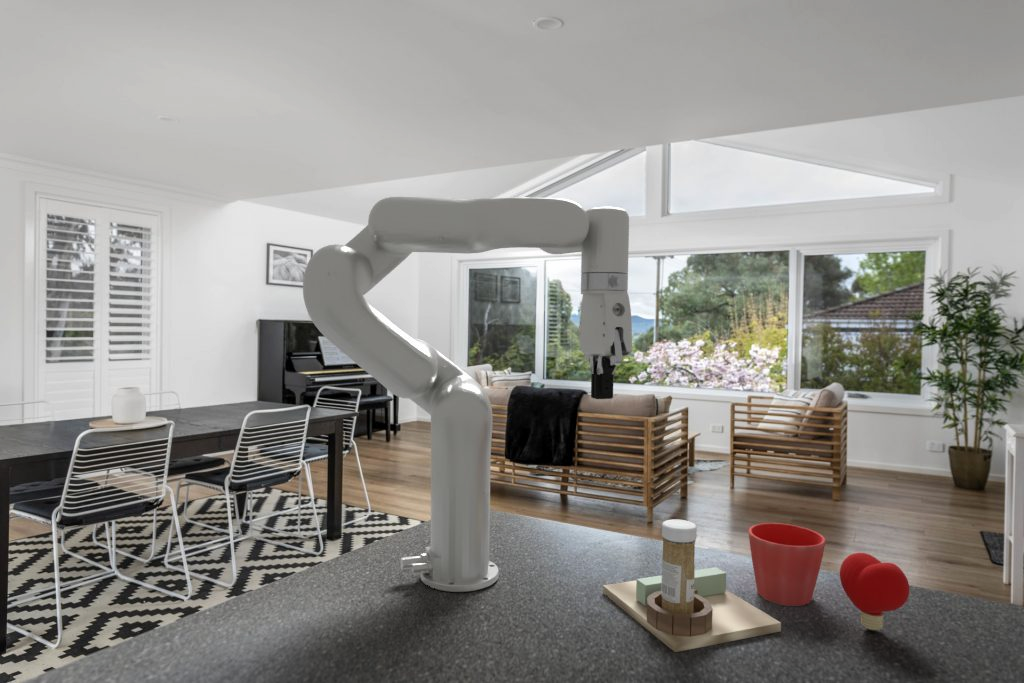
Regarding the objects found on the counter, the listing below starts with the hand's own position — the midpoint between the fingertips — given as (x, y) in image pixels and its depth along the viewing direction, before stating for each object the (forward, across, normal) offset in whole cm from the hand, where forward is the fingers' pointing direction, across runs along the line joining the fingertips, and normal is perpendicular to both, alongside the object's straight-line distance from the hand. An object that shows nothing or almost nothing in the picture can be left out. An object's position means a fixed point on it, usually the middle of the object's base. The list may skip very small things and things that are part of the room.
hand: (601, 398), depth 109 cm
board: (+29, -16, -6) cm, 34 cm away
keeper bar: (+28, -14, -6) cm, 32 cm away
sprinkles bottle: (+28, -21, -1) cm, 35 cm away
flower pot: (+29, -17, -23) cm, 41 cm away
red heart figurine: (+29, -30, -26) cm, 49 cm away
